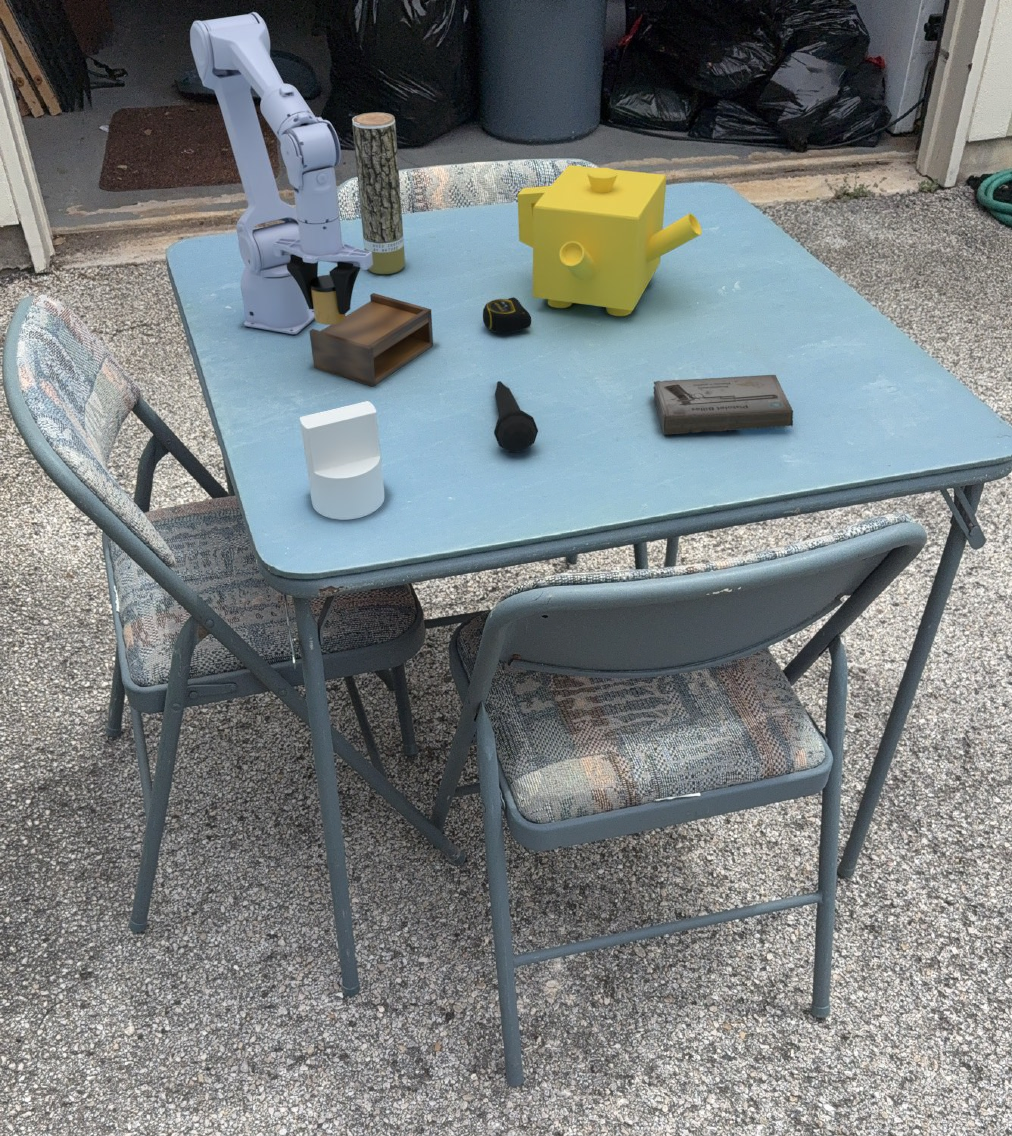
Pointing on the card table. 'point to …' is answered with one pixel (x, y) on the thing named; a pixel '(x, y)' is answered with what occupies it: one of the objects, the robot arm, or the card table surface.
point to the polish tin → (325, 301)
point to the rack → (373, 340)
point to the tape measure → (506, 316)
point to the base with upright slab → (344, 461)
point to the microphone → (513, 422)
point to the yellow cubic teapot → (598, 236)
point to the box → (721, 404)
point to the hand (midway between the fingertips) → (329, 308)
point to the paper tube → (379, 190)
